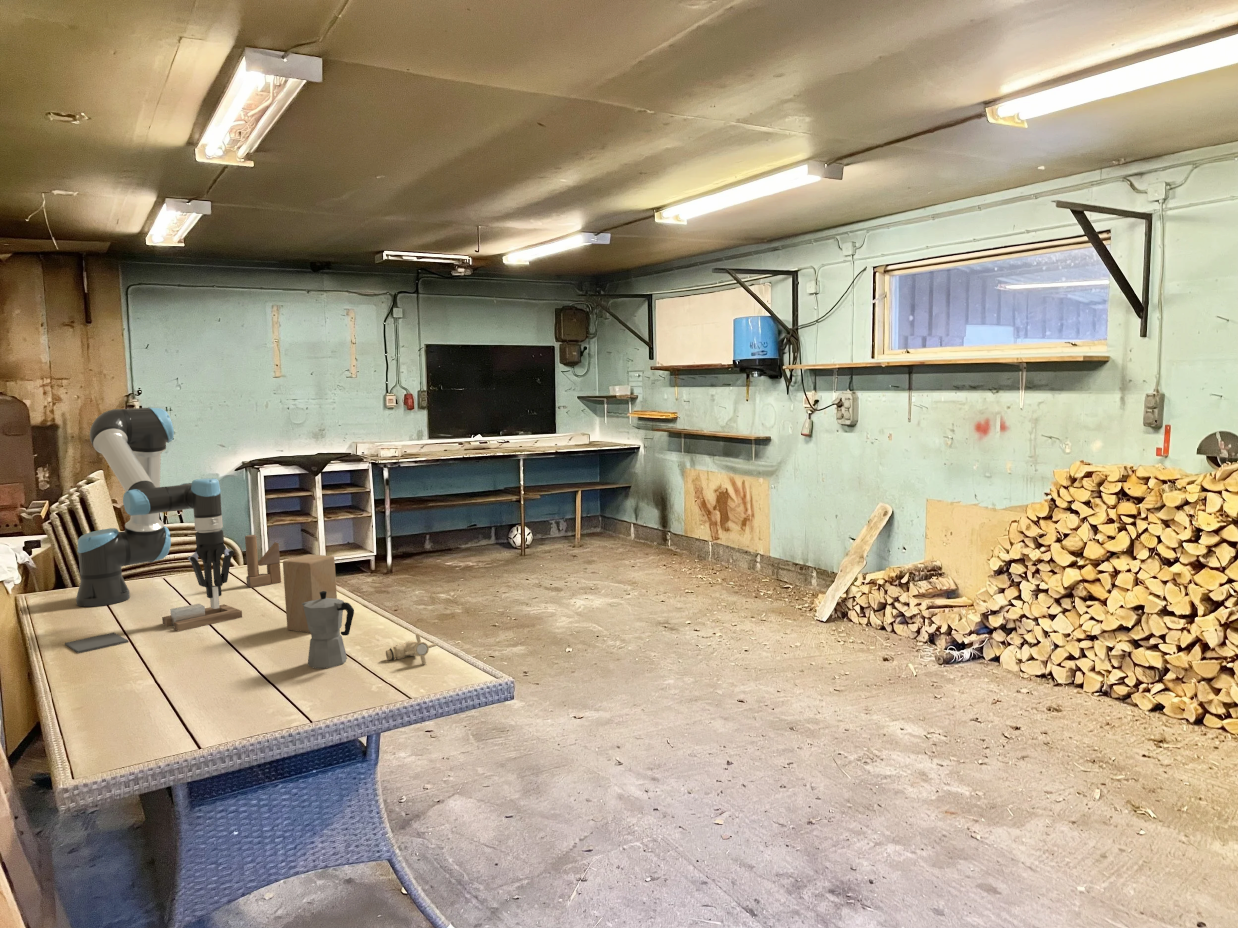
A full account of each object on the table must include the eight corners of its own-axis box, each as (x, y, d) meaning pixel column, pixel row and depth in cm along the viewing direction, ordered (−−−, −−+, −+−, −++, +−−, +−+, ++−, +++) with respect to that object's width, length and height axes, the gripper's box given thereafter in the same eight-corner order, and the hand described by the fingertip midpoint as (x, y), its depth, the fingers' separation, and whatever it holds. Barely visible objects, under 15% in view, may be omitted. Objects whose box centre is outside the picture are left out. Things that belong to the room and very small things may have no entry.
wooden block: (339, 624, 242) (334, 555, 241) (313, 633, 233) (308, 562, 232) (313, 620, 247) (308, 553, 245) (286, 630, 238) (281, 560, 236)
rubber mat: (65, 644, 230) (64, 642, 230) (113, 634, 239) (113, 632, 239) (78, 653, 222) (78, 651, 222) (128, 642, 231) (128, 640, 231)
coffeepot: (292, 666, 206) (287, 594, 204) (319, 654, 215) (315, 585, 213) (343, 672, 200) (338, 598, 199) (369, 659, 209) (364, 588, 207)
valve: (440, 659, 206) (400, 672, 200) (424, 657, 216) (386, 669, 211) (433, 629, 206) (393, 641, 201) (417, 628, 217) (379, 640, 211)
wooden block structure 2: (281, 582, 299) (278, 532, 297) (250, 588, 291) (246, 536, 290) (277, 580, 301) (274, 531, 300) (246, 586, 294) (242, 535, 292)
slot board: (162, 623, 249) (162, 617, 248) (224, 610, 262) (224, 604, 262) (178, 631, 240) (178, 624, 240) (242, 617, 253) (241, 610, 253)
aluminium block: (171, 625, 247) (170, 609, 246) (200, 619, 252) (199, 603, 252) (176, 628, 244) (175, 611, 243) (205, 622, 249) (204, 605, 249)
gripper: (191, 534, 244) (197, 614, 246) (236, 528, 254) (242, 604, 256) (181, 532, 249) (187, 610, 251) (225, 526, 259) (231, 601, 261)
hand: (215, 607), depth 253 cm, fingers closed
